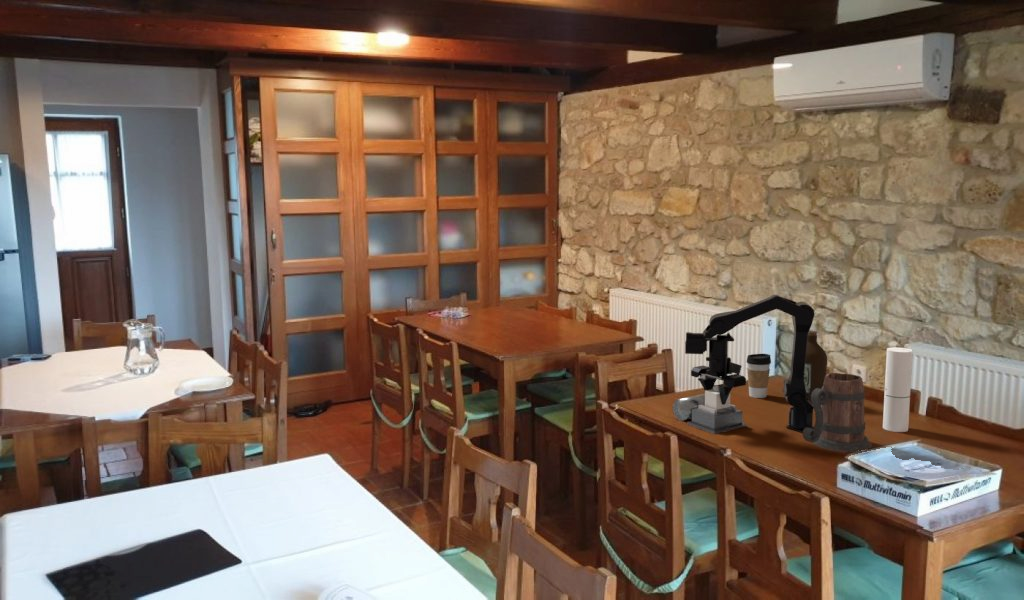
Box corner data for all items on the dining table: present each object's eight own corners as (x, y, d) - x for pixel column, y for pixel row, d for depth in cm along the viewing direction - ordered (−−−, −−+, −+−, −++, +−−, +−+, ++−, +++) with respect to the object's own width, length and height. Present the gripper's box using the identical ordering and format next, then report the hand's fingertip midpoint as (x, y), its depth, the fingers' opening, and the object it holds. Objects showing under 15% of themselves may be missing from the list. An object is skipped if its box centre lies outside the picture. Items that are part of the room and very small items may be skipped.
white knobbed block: (730, 406, 255) (730, 386, 254) (716, 409, 252) (716, 389, 251) (718, 403, 259) (718, 383, 258) (704, 405, 256) (705, 386, 255)
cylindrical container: (902, 425, 253) (907, 347, 249) (911, 432, 246) (916, 352, 242) (879, 424, 254) (883, 347, 250) (887, 431, 247) (891, 352, 243)
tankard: (836, 430, 250) (839, 367, 247) (884, 445, 235) (888, 378, 232) (782, 443, 239) (784, 377, 236) (828, 459, 224) (831, 390, 221)
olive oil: (808, 395, 288) (810, 327, 285) (832, 402, 279) (835, 332, 275) (786, 400, 283) (788, 330, 280) (810, 407, 274) (813, 335, 270)
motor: (746, 426, 255) (747, 404, 254) (714, 434, 248) (714, 412, 247) (701, 411, 272) (702, 391, 271) (670, 418, 265) (670, 397, 264)
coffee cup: (773, 398, 285) (774, 357, 283) (749, 399, 285) (750, 357, 283) (766, 392, 294) (767, 352, 291) (742, 393, 294) (743, 352, 292)
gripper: (759, 356, 249) (757, 405, 251) (715, 346, 265) (714, 392, 267) (733, 361, 244) (732, 411, 246) (690, 350, 259) (689, 397, 262)
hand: (717, 402), depth 255 cm, fingers closed on white knobbed block, 5 cm apart
